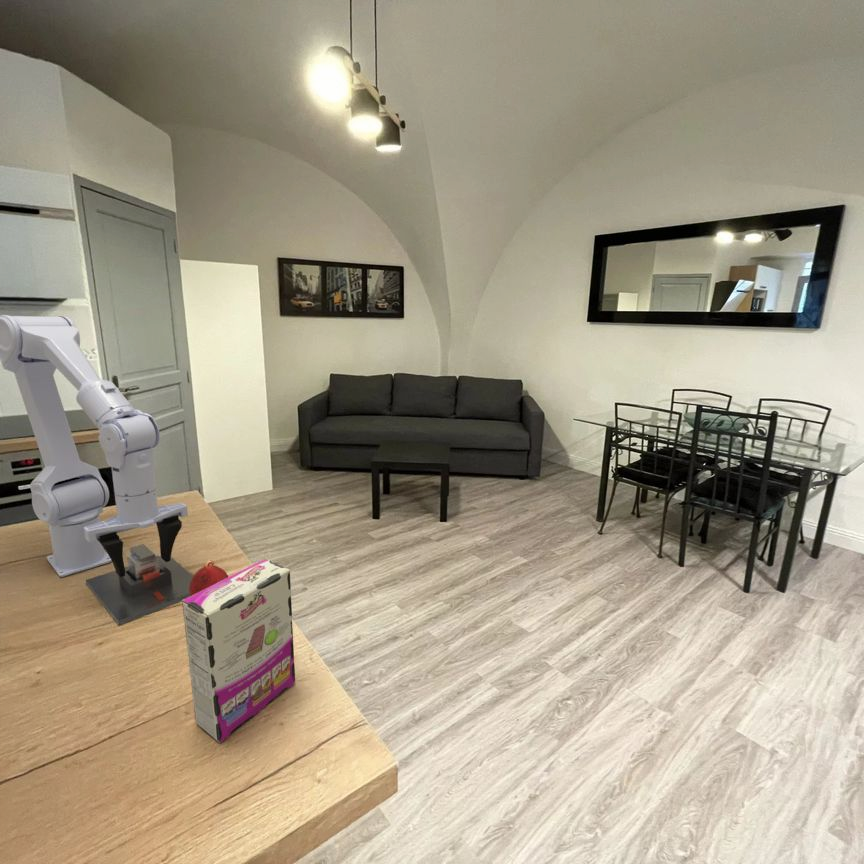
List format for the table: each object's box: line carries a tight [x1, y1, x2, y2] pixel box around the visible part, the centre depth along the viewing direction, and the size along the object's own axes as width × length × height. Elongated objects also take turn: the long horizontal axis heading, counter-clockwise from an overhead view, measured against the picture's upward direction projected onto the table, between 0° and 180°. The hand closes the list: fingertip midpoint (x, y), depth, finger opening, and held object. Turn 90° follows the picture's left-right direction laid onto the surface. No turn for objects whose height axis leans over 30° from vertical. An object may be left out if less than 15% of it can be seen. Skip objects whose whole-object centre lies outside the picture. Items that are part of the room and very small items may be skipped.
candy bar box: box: [181, 558, 296, 744], centre depth 56 cm, size 11×5×16 cm, turn 148°
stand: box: [85, 555, 194, 626], centre depth 81 cm, size 16×13×4 cm
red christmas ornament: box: [189, 560, 229, 596], centre depth 76 cm, size 6×6×8 cm
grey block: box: [126, 543, 161, 581], centre depth 80 cm, size 5×4×6 cm
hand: (144, 566), depth 80 cm, fingers open, 6 cm apart
